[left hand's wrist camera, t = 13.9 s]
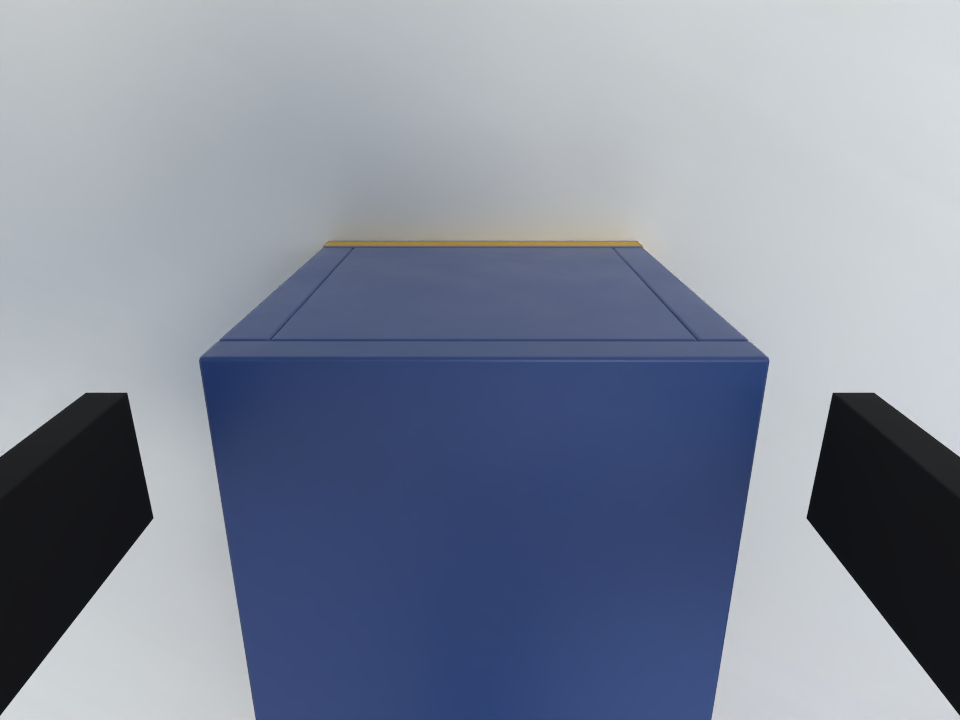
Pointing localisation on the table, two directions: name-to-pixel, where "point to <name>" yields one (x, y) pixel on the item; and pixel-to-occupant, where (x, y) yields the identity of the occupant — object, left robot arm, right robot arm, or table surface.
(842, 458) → the left robot arm
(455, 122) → the table surface
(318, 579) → the cabinet
